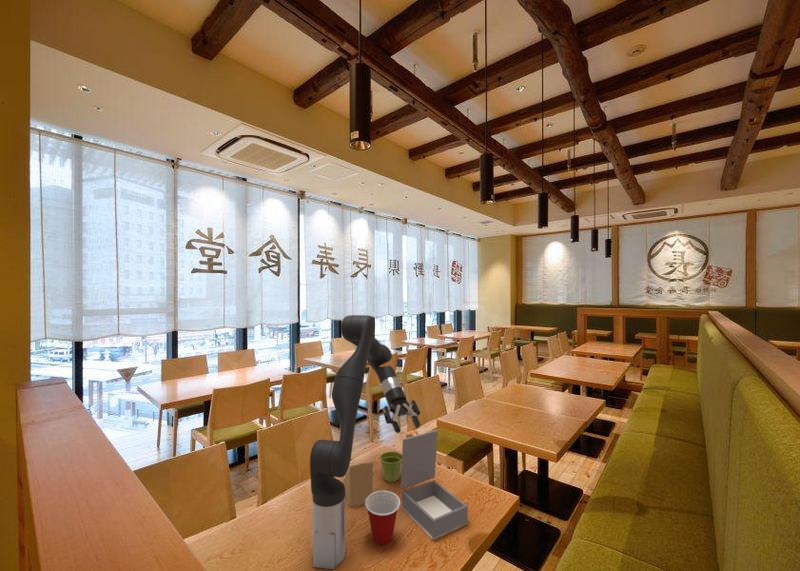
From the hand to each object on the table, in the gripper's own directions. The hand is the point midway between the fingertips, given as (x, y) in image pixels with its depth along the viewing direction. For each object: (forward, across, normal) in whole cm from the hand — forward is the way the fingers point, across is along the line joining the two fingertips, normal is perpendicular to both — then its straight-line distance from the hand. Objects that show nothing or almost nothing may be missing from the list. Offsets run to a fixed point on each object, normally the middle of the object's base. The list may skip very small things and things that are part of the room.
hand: (408, 429), depth 135 cm
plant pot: (+9, 0, +25) cm, 27 cm away
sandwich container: (+10, -17, +24) cm, 31 cm away
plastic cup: (+28, -20, +6) cm, 35 cm away
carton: (+28, 0, +6) cm, 28 cm away
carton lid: (+11, 0, 0) cm, 11 cm away
